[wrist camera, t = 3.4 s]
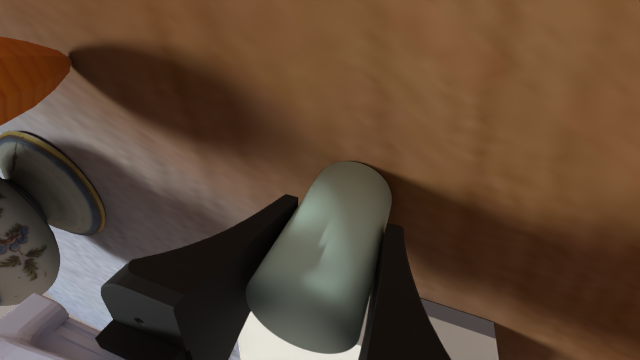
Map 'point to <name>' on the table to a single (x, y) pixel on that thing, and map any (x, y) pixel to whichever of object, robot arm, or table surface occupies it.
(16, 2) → the table surface
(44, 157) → the apothecary jar
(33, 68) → the carrot
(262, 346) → the socket block
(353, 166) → the peg
